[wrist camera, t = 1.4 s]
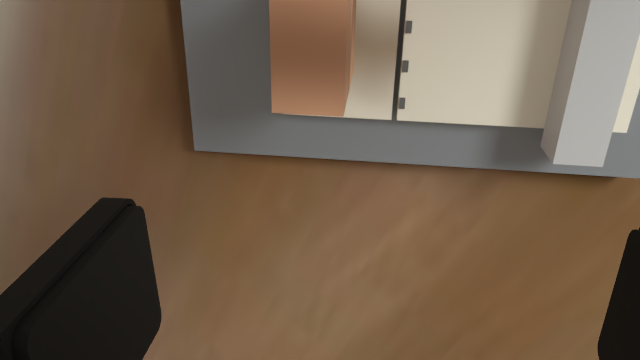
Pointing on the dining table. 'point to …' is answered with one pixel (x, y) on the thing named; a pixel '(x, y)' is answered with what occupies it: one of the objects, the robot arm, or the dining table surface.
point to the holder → (441, 87)
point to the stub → (333, 57)
